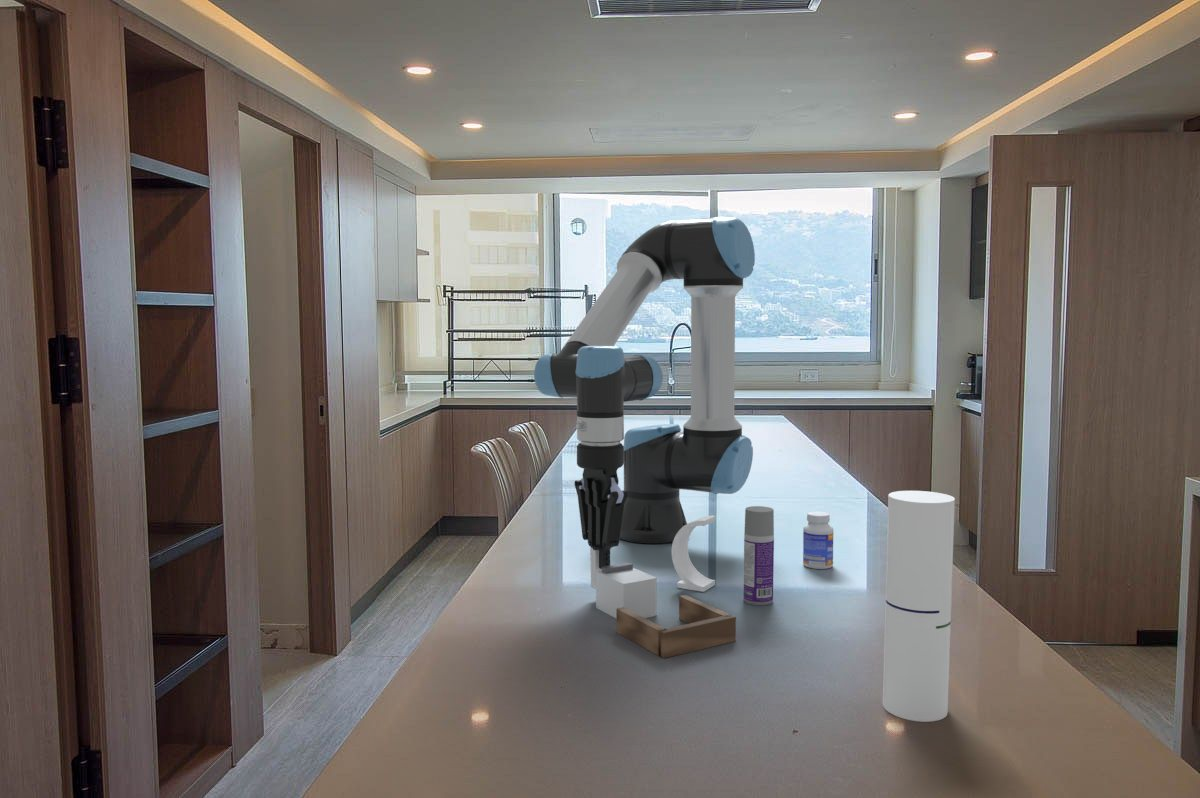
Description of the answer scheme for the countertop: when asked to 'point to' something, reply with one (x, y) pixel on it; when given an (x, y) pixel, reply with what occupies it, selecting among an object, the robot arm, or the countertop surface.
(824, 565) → the pill bottle
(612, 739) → the countertop surface
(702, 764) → the countertop surface
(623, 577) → the matte white cube
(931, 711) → the cylindrical container
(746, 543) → the container
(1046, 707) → the countertop surface
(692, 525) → the headphone stand
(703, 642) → the bay
